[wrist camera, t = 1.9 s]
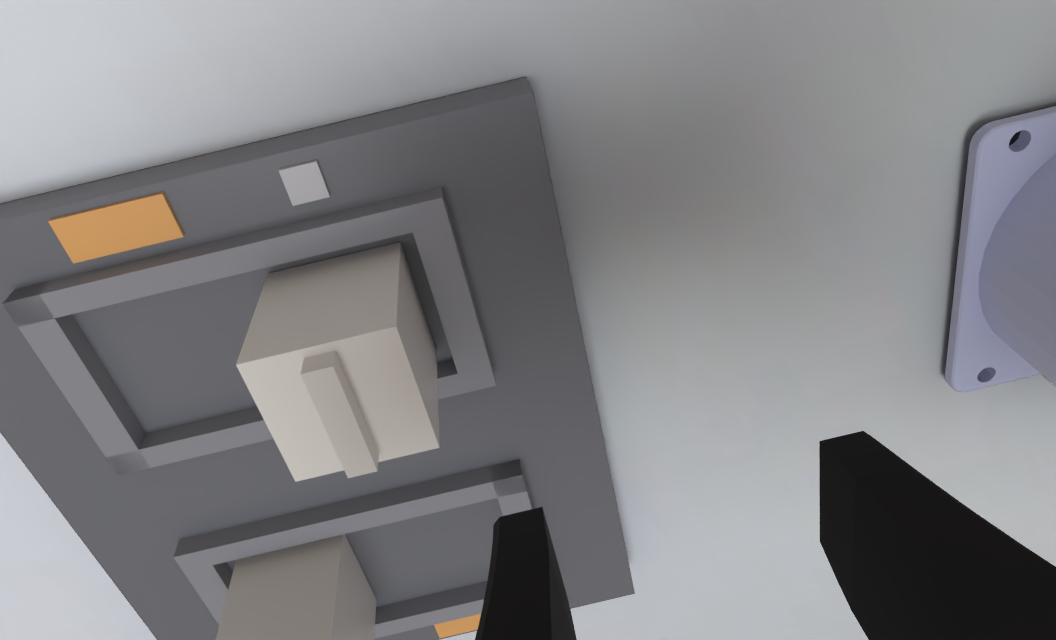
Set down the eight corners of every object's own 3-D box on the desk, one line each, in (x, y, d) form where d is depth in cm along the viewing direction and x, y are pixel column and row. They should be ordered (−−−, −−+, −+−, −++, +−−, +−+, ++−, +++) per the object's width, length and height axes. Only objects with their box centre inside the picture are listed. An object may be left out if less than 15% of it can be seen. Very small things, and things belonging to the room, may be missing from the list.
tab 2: (342, 530, 21) (328, 660, 18) (376, 599, 23) (369, 730, 20) (237, 555, 22) (202, 689, 18) (277, 622, 23) (253, 757, 20)
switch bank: (526, 76, 17) (536, 100, 15) (626, 563, 25) (639, 609, 24) (-102, 228, 17) (-153, 267, 15) (208, 661, 26) (195, 713, 24)
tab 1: (400, 241, 17) (395, 341, 14) (436, 351, 19) (440, 464, 15) (267, 273, 17) (230, 381, 14) (315, 379, 19) (291, 499, 15)
